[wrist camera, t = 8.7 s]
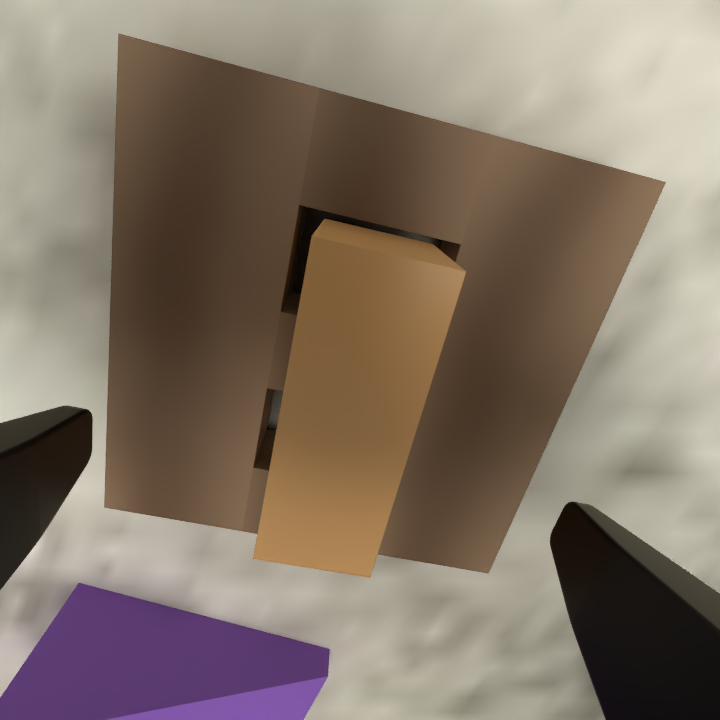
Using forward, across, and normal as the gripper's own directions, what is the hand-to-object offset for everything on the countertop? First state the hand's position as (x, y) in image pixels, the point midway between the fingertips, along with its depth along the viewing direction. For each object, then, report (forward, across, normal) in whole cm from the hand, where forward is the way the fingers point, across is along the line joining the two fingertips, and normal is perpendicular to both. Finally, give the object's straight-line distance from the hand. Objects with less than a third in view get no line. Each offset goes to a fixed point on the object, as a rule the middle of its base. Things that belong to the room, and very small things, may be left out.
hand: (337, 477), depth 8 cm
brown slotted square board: (+8, 0, 0) cm, 8 cm away
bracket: (+9, +4, +18) cm, 21 cm away
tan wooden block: (+8, 0, 0) cm, 8 cm away
